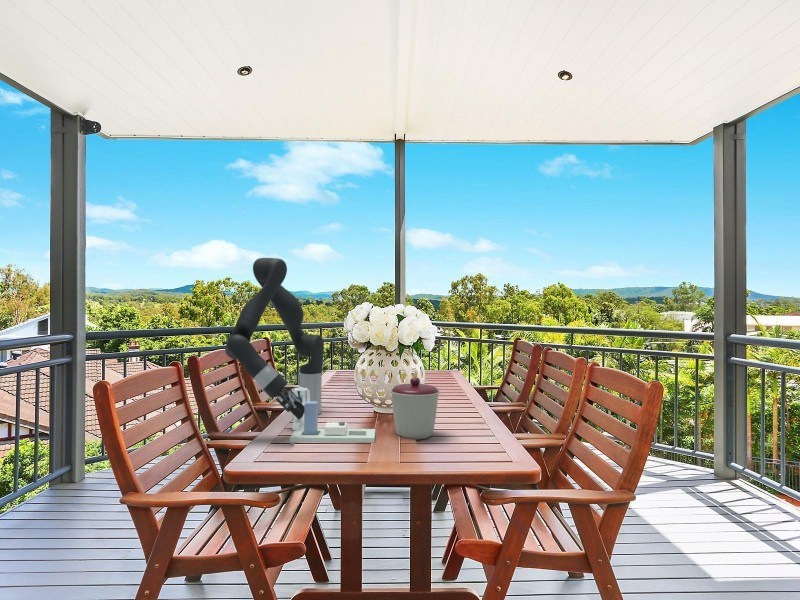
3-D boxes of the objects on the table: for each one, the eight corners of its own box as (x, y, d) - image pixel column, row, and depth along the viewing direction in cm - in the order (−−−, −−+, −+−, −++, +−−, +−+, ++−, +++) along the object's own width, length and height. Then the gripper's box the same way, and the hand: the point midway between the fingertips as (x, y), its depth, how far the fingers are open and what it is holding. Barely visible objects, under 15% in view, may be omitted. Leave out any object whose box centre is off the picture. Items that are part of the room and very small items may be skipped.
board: (296, 435, 187) (296, 428, 187) (375, 435, 188) (375, 428, 188) (290, 444, 175) (290, 437, 175) (374, 445, 176) (374, 437, 176)
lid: (326, 429, 185) (326, 420, 185) (346, 429, 185) (346, 420, 185) (324, 434, 178) (324, 425, 178) (345, 434, 178) (345, 425, 178)
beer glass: (286, 429, 195) (287, 389, 195) (298, 425, 201) (299, 386, 201) (301, 432, 192) (302, 391, 192) (313, 428, 198) (314, 388, 198)
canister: (382, 431, 194) (383, 374, 194) (428, 428, 200) (429, 372, 200) (398, 445, 177) (399, 382, 177) (447, 441, 183) (448, 380, 183)
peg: (305, 435, 184) (306, 401, 183) (317, 435, 184) (317, 401, 184) (304, 438, 180) (304, 403, 179) (315, 438, 180) (316, 403, 180)
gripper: (274, 376, 174) (308, 411, 174) (282, 370, 188) (313, 403, 189) (257, 392, 174) (292, 427, 174) (266, 385, 188) (298, 417, 188)
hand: (303, 414), depth 181 cm, fingers open, 8 cm apart
